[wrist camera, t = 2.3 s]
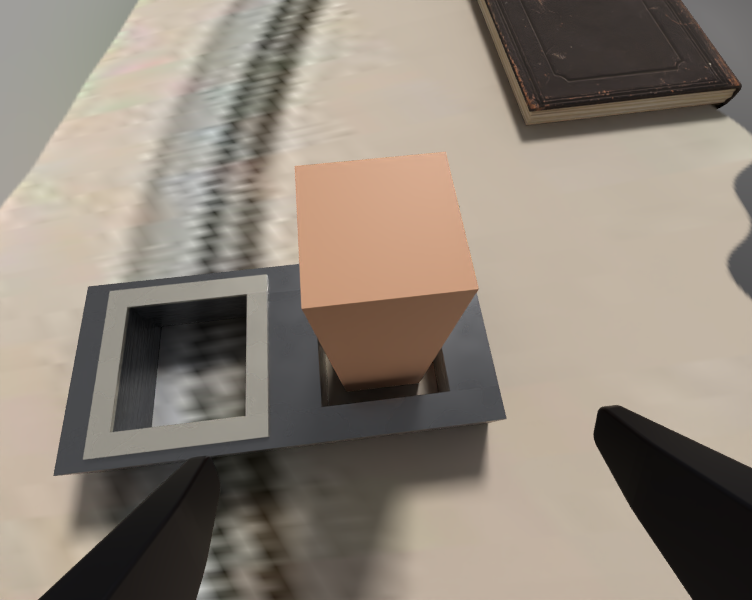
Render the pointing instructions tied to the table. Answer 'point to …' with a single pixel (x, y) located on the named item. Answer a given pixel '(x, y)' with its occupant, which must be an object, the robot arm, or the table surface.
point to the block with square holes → (263, 376)
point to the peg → (382, 264)
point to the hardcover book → (605, 57)
